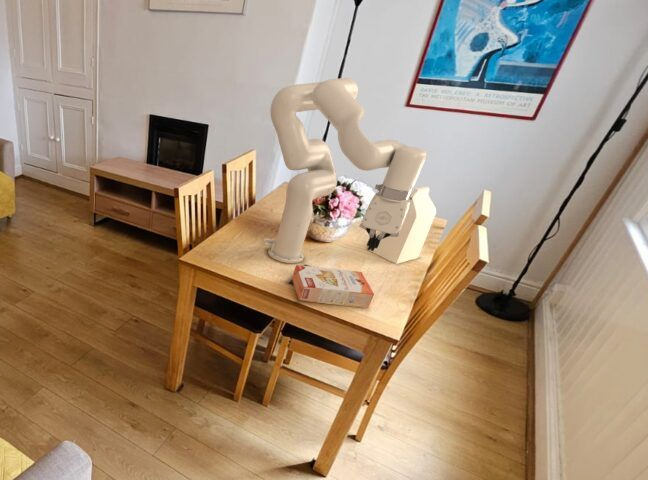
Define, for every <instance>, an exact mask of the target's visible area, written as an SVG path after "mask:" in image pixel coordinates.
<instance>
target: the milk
mask: <svg viewBox="0 0 648 480" xmlns="http://www.w3.org/2000/svg"><path fill="white" fill-rule="evenodd" d="M429 192H430V187H429V186H427V185H426V186H420V187H415V188H413V189H412V192H411V194H410V196H409V199H410V205H409V209H408V212H407V215H406V218H405V220H404V223H403V225H402V227H401V229H400V234H399V236H398V237H391V236H389V237H386V238H384V239H382V240H381V241H380V244H379V246H378V248H375V249H374V250H373V251H371V249H370V250H368V251H370V252H372V253H374V254H375V255H378V256H379V257H381V258H383V259H385V260H388V261H390V262H391V263H393V264H395V265H397V264H402V263H404V262H407V261H412V260H414V259H418V258H419V257H420V254H421V251H422V249H423V246H424V245H425V242H426V239H427V237H428V234H429V232H430V229H431V227H432V224H433V223H434V222H433V221H434V219H435V217H436V214H437V209H436V206H435V204H434V203H433V201H432V199H431V197H430V195H429ZM380 233H381V231H376V237H377V236H378V235H380Z"/></svg>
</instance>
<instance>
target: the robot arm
mask: <svg viewBox="0 0 648 480" xmlns="http://www.w3.org/2000/svg"><path fill="white" fill-rule="evenodd" d="M358 95H359V86H358V84H357V82H356V81H355V80H353V79H351V78H349V77H340V78H332V79H331V78H330V79H326V80H323V81H318V82H308V83H299V84H292V85H288V86H285V87H283V88H281V89H280V90H278V91H277V92H276V94H275V95H274V97H273V98H272V101H271V104H270V111H269V113H270V119H271V122H272V126H273V127H274V130H275V131H276V132H275V133H276V135H277V138H278V139H277V140H278V142H279V143H278V145H279V147H280V151H281V155H282V157H283V162H284V165H285V166H286V168H287V169H288V170H290V171H301V170H307V171H305V172H301V173H298V174H296V175H294V176H293V177H291V179H289V181H288V183H287V186H286V192H285V193H286V196H285V203H284V207H283V211H282V216H281V219H280V223H279V227H278V231H277V233H276V237H275V239H270V238H268V237H265V238H264V240H263V243H264V244H263V245H264V246H266V247H269V248H268V251H267V253H268V256H269V257H270V258H272V259H273V260H275V261H277V262H281V263H285V264H298V263H301V262H303V260H304V258H305V254H304V252H303V251H302V250H303V247H304V244H305V239H306V237H307V234H308V230H309V227H310V224H311V220H312V217H313V213H314V207H313V201H314V200H316V199H319V198H323V197H326V196H329V195H331V194H332V193H333V192H334V191H335V190H336V188H337V185H338V176H337V173H336V167H335V163H334V161H333V157H332V153H331V150H330V147H329V145H328V144H327V143H326V141H324V140H323V139H321V138H310V139H309V138H308V136H307V132H306V129H305V126H304V124H303V121H301V119H300V118H299V117H298V116H297V113H301V112H310V111H317V110H318V111H319V112H320V114H322V116H323V117H325V119H326V120H327V121H328V122H329V123H330V124H331V126H333V127H334V129H335V130H336V131H337V141H338V144H339V145H338V146H339V148H340V150H341V152H342V153H343V155H344V156H345V157H346V158H347V159H348V161H349V162H350V163H351V164H352V165H353V166H355V168H357V169H359V170H361V171H364V172H365V171H367V172H369V171H374V170H378V169H386V168H388V169H387V170H386V171H387V172H386V174H385V176H384V179H383V182H382V183H381V184H375V186H374V190H376V191H378V192H376V193H375V194H374V195H373V197H372V199H371V200H370V202H369V204H368V205H367V208H366V210H365V212H364V215H363V217H362V220H361V222H360V224H359V228H361V229H363V230H365V231H366V233H367V234H368V237H369V238H368V241H367V242H366V246H367V251H369V250H370V249H371V251H373V250H374V249H375V248H378V246H379V244H380V241H381V240H382V239H384V238H386V237H389V236H391V237H398V236H399V234H400V229H401V227H402V225H403V223H404V220H405V218H406V215H407V212H408V209H409V205H410V199H409V196H410V194H411V193H412V192H413V190H414V187H415V185H416V183H417V181H418V179H419V176H420V173H421V171H422V170H423V167H424V164H425V162H426V160H427V157H428V154H427V152H426V151H425V150H424V149H422V148H420V147H416V146H415V147H414V146H409V145H407V144H404V143H402V142H401V141H398V140H396V139H384V140H378V141H373V142H372V141H370V139H369V138H368V137H367V136H366V135H365V134H364V133H363V131H362V129H361V127H360V123H361V121H362V120H363V119H364V117H365V115H366V110H365V108H364V107H363V106H362V105H361V104H360V103H359V102H358V101H357V98H358ZM378 231H381V233H380V235H378V236H377V237H376V234H377V232H378ZM371 251H370V252H371Z"/></svg>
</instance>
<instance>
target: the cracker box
mask: <svg viewBox="0 0 648 480" xmlns="http://www.w3.org/2000/svg"><path fill="white" fill-rule="evenodd" d="M310 266H311V265H308V266H304V265H300V264H296V265H295V267H294V271H293V274H292V276H291V280H293V283H294V285H293V287H294V289H295V292H296V296H297V299H298V301H299V302H309V303H310V302H311V303H318V304H328V305H336V306H344V307H353V308H362V309H369V307H370V306H371V303H372V300H373V298H374V295H375V293H374V292H373V290H372V288H371V286H370V285H369V282H368V280H367V279H366V277H365V276H364V274H363V272H362V271H359V270H347V269H339V268H338V269H337V268H327V267H319V266H311V267H310Z"/></svg>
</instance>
